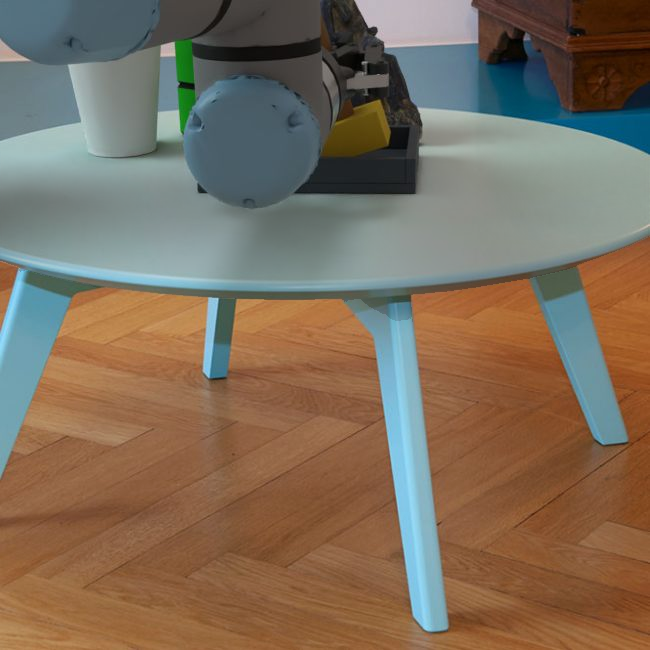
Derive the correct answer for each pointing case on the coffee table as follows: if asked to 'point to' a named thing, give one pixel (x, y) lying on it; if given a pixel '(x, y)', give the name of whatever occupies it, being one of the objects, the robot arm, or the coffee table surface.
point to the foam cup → (119, 103)
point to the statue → (398, 106)
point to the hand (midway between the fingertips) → (324, 48)
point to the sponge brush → (355, 124)
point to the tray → (370, 168)
